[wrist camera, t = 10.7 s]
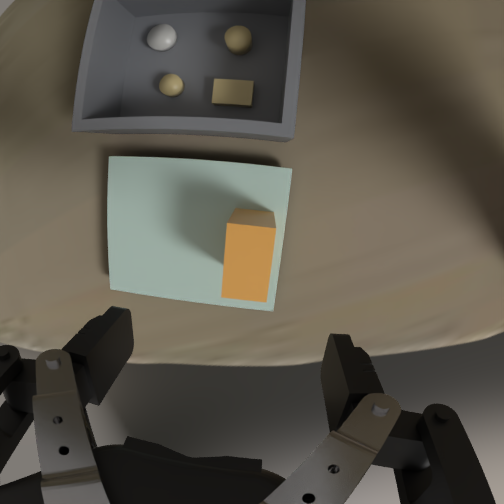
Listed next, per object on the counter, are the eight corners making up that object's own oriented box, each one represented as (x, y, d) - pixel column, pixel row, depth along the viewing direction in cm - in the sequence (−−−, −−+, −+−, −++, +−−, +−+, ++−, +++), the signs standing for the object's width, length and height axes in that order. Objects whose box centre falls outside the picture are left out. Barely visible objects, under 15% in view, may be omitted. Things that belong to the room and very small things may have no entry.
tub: (298, 14, 21) (307, -25, 14) (286, 142, 24) (293, 138, 18) (132, 14, 21) (98, -16, 14) (114, 134, 25) (71, 131, 18)
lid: (290, 167, 25) (300, 173, 18) (272, 300, 29) (274, 347, 22) (120, 155, 26) (73, 159, 18) (119, 280, 29) (82, 316, 22)
